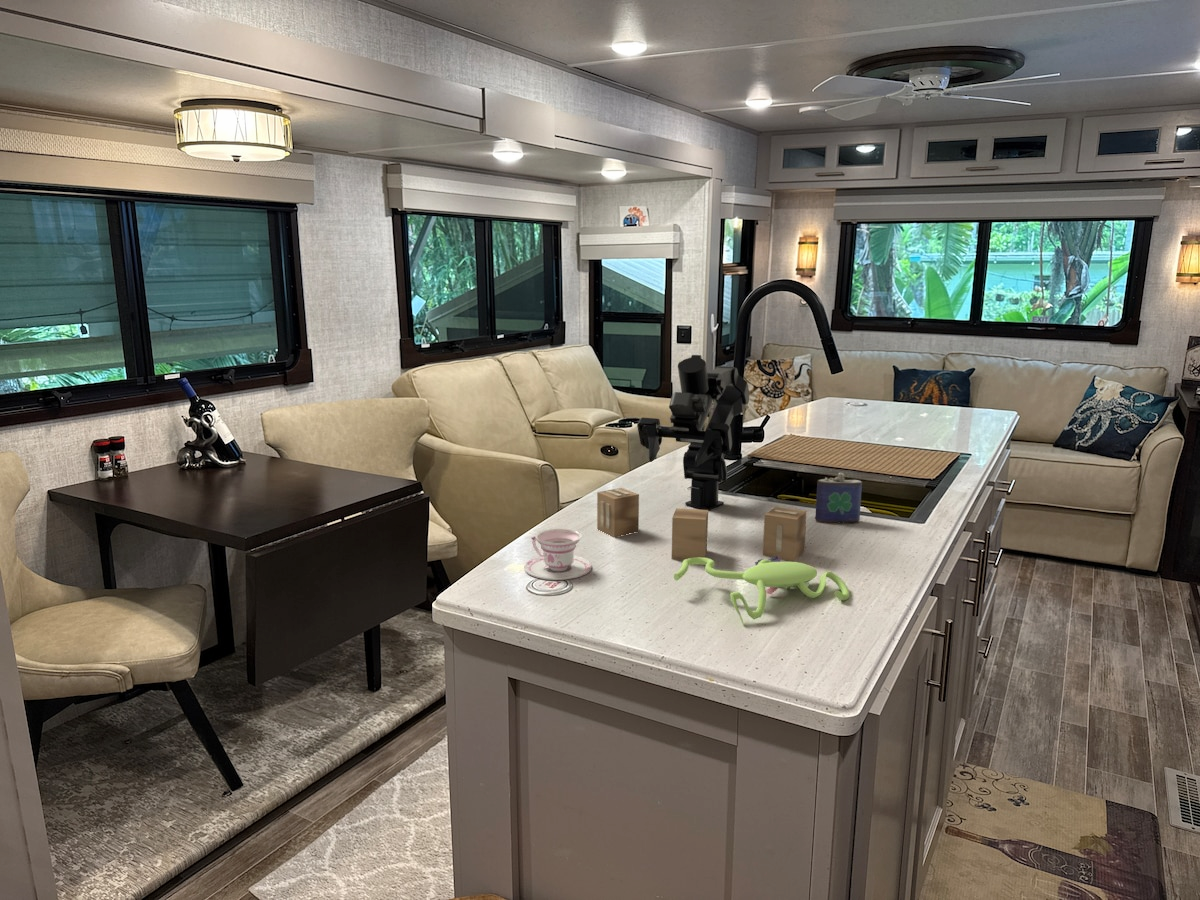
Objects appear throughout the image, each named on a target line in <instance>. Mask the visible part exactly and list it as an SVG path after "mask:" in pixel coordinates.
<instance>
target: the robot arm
mask: <svg viewBox="0 0 1200 900" xmlns="http://www.w3.org/2000/svg"><path fill="white" fill-rule="evenodd" d="M677 370H678V378H679V385H680V391H681V392H677V391H676V392H672V394H671V397H670V402H669V406H668V408H669V409H670V412H671V415H670V417H669V419H670V423H671V424H672V425H666V424H665V425H663V424H661V421H660V418H653V417H641V418H640V419H639V420H638V422H637V423H636V427H637V431H638V436H639V441H640V445H641V446H642V447H643V448H644V447H645V448H646V449H648V459H649V462H650V463H652V462H653V461H654V460H655V459H656V457H657V455H658V453H659V451H660V449H661V448H660V446H661V444H662V442H663V438H673V439H675V441H676V443H677V442H679V443H690V444H689V445H688V448H687V450H686V451H685V452H684V454H683V458H682V466H683V475H684V477H683V479H686V480H687V479H690V480H691V485H690V500H689V501H686V502H685V503H684V505H685V506H689V507H694V508H697V509H701V510H708V511H710V510H713V509H715V508H718V507H719V506H723V505H724V503H725V502H724V501H721V500H719V489H720V488H719V483H722V482H726V481H728V468H727V464H726V461H725V456H724V454H725V455H726V454H729V453H730V452H731V450H732V447H733V438H732V429H731V424H732V421H733V418H734V417H735V416H738V415H740V414H742V413H743V412H744V410H745V409H746V407H747V405H749V401H750V390H749V386H748V381H746V379H744V378H743V377H742V376H741V375H740V374H739V372H738V371H739V370H738V368H737V367H734V366H725V365H719V366H715V367H714V369H712V370H710V371H708V369H707V362H706V361H705V359H703V358H702V355H701V354H692V355H691V356H690V357H688V358H685V359H683V360H681V361H679V362H678V364H677ZM713 405H714V406H713ZM712 406H713V407H714V410H713V411H712V414H711V408H712ZM709 417H710V419H709V421H708V424H707V425H705V423H706V420H707V418H709Z"/></svg>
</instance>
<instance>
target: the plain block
mask: <svg viewBox="0 0 1200 900" xmlns="http://www.w3.org/2000/svg"><path fill="white" fill-rule="evenodd" d="M671 519H672V520H671V523H672V524H671V533H672V534H671V560H677V559H679V560H680V561H684V560H685V559H689V558H696V557H701V558H707V552H708V535H709V534H708V532H709V531H708V528H709V527H708V525H709V510H706V509H698V508H697V509H694V508H680V507H679V508H678V507H676V508H675V510H674V512H673V515H672V518H671Z"/></svg>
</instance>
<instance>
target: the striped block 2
mask: <svg viewBox="0 0 1200 900" xmlns="http://www.w3.org/2000/svg"><path fill="white" fill-rule="evenodd" d="M763 519H764V520H763V521H764V522H763V540H762V541H763V543H762V544H763V545H762V556H763V557H768V558H772V557H773V556H779V558H780V560H784V561H788V562H796V560H797V559H799V558H800V557H801V556H802V555H803V554H804V553H805V547H806V546H805V545H806V532H807V531H806V528H807V510H801V509H794V508H787V507H781V506H774V507H773V508H772V509H770V510H769V511H768V512H766V513H765V514H764V518H763Z"/></svg>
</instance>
